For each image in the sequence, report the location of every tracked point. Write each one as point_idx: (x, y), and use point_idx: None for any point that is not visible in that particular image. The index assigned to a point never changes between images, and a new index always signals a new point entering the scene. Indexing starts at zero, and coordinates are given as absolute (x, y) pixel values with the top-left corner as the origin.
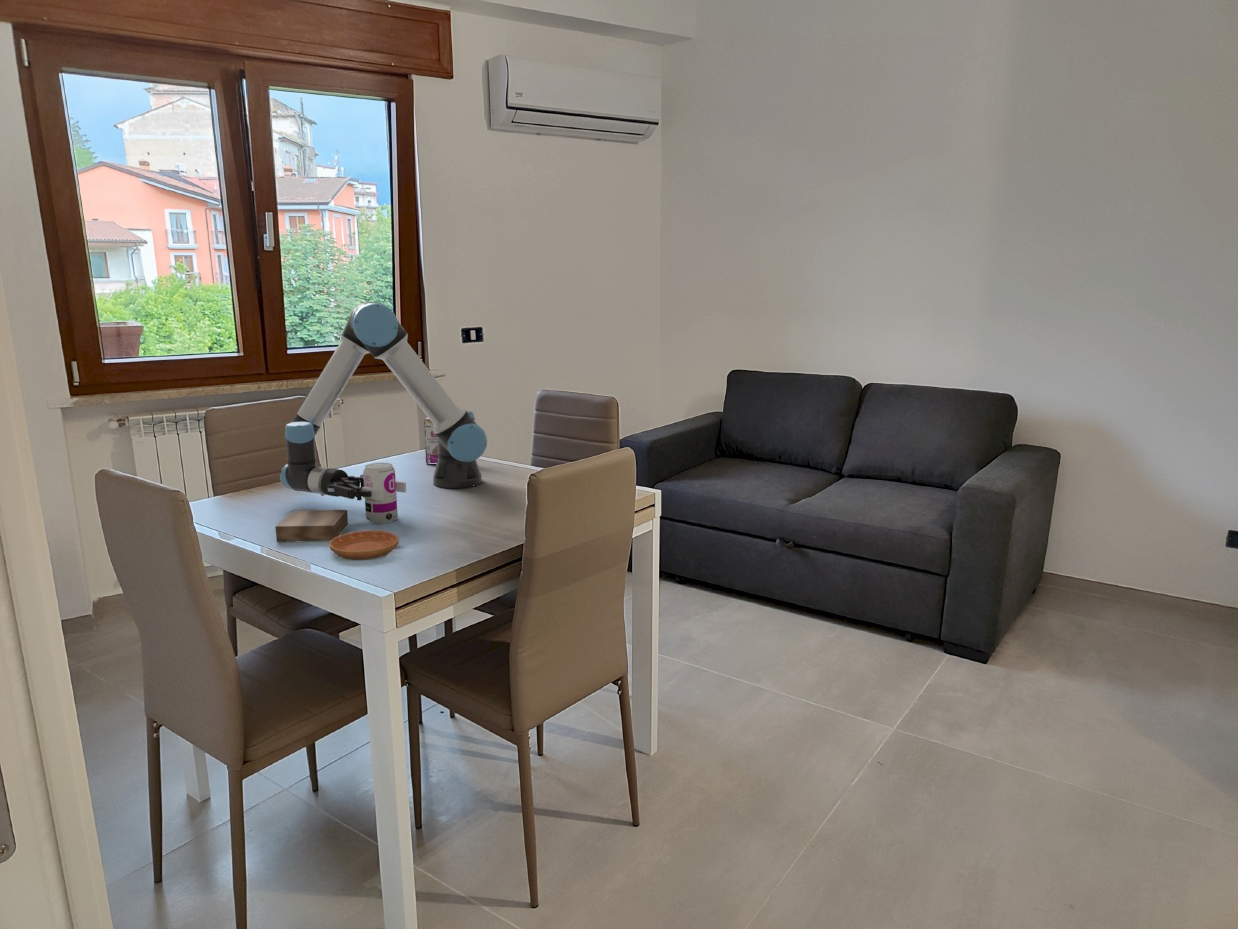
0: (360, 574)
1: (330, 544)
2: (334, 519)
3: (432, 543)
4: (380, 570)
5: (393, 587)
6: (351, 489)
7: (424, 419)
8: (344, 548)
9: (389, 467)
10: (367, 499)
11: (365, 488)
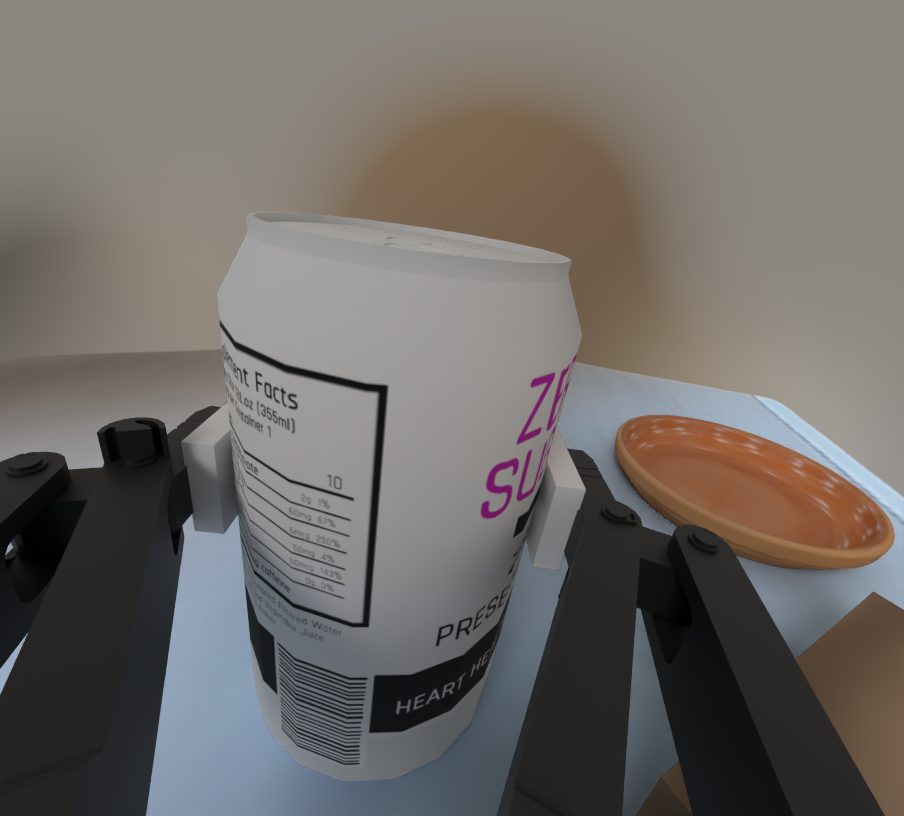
0: (792, 445)
1: (889, 524)
2: (857, 668)
3: None
4: None
5: (744, 398)
6: (713, 535)
7: None
8: (803, 536)
9: (420, 233)
10: (519, 561)
11: (572, 467)
